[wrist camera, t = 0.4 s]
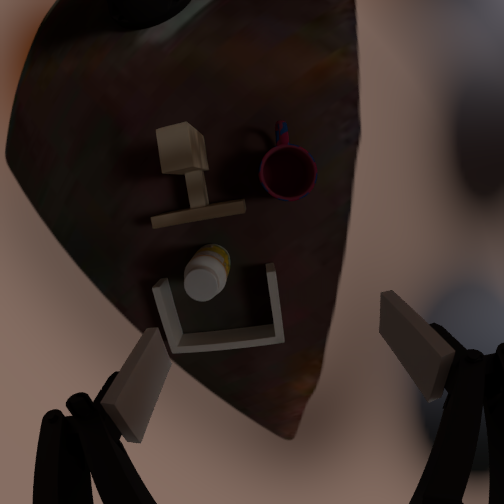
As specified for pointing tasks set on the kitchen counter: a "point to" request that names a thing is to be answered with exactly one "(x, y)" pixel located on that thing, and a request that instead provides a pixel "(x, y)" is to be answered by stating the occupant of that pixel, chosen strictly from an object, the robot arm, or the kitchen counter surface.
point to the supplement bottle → (207, 272)
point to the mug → (287, 168)
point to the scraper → (189, 176)
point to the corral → (220, 337)
